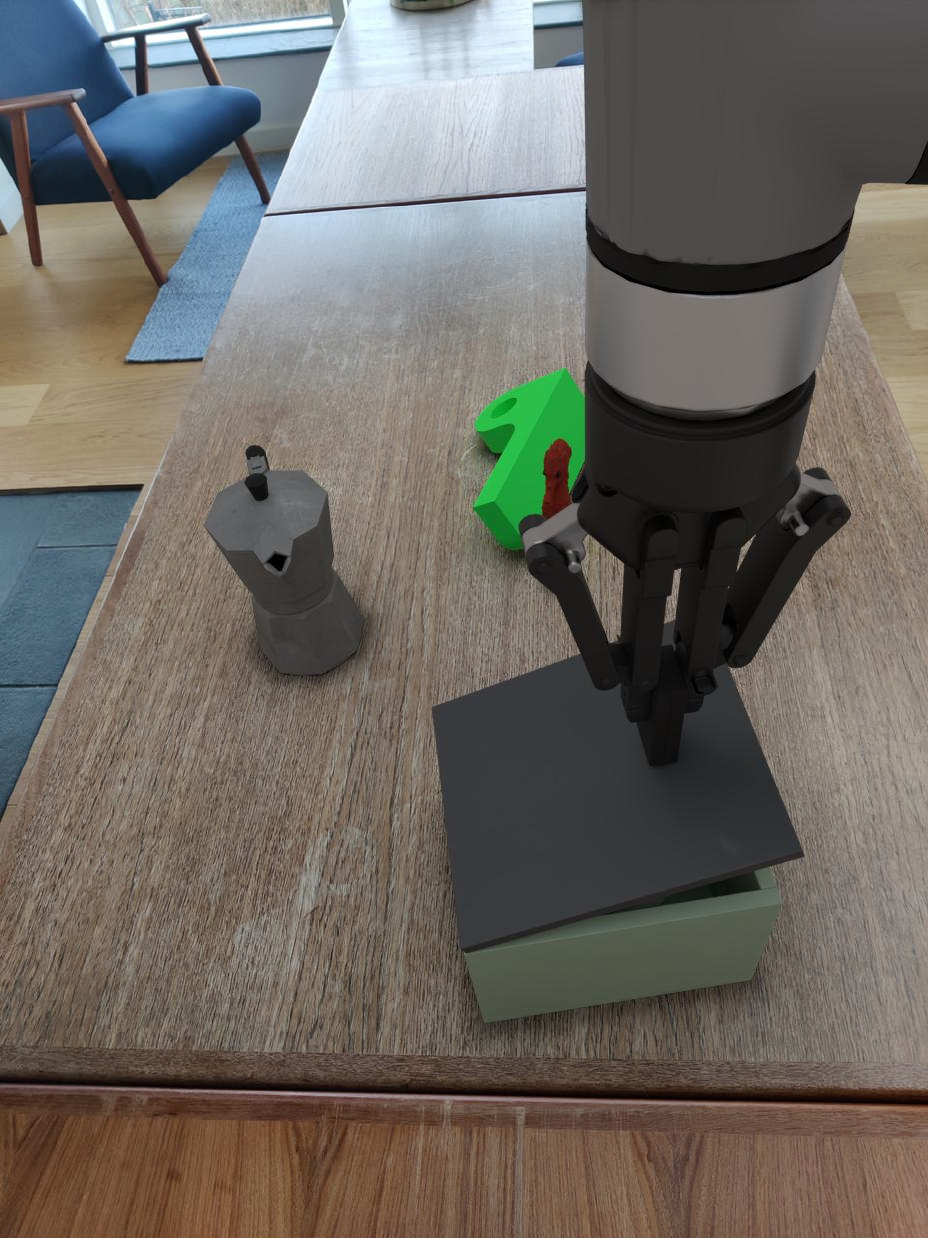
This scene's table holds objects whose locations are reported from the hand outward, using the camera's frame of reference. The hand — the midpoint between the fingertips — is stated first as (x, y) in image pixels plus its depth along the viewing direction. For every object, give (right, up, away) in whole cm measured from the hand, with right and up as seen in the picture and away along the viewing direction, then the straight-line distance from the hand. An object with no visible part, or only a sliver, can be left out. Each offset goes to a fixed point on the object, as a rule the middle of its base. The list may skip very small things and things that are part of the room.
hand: (656, 742), depth 47 cm
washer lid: (-3, -2, +2) cm, 4 cm away
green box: (-2, -11, +13) cm, 17 cm away
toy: (-2, +10, +31) cm, 33 cm away
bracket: (-5, +19, +40) cm, 45 cm away
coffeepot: (-24, +6, +31) cm, 39 cm away
